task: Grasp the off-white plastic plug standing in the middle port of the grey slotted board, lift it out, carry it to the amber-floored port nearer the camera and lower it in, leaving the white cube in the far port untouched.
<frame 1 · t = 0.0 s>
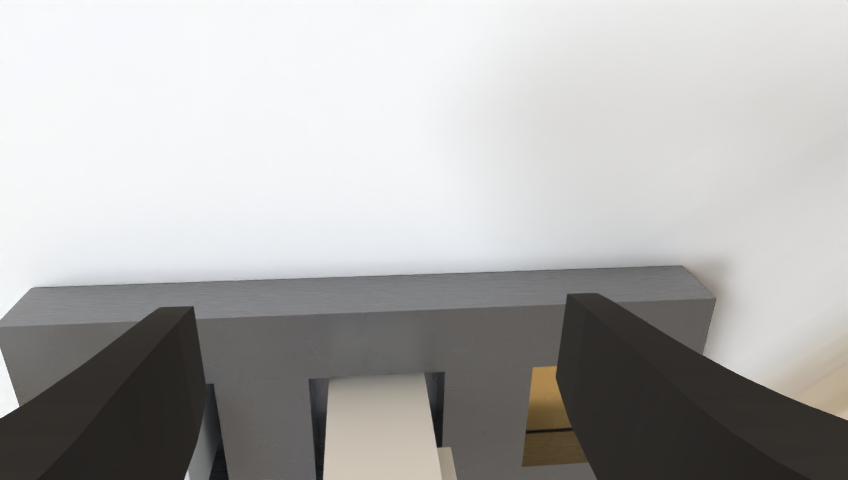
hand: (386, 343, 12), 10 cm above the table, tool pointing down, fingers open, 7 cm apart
grey slotted board: (376, 385, 25), on the table
white cube: (168, 404, 24), resting on grey slotted board
plug: (376, 393, 24), resting on grey slotted board
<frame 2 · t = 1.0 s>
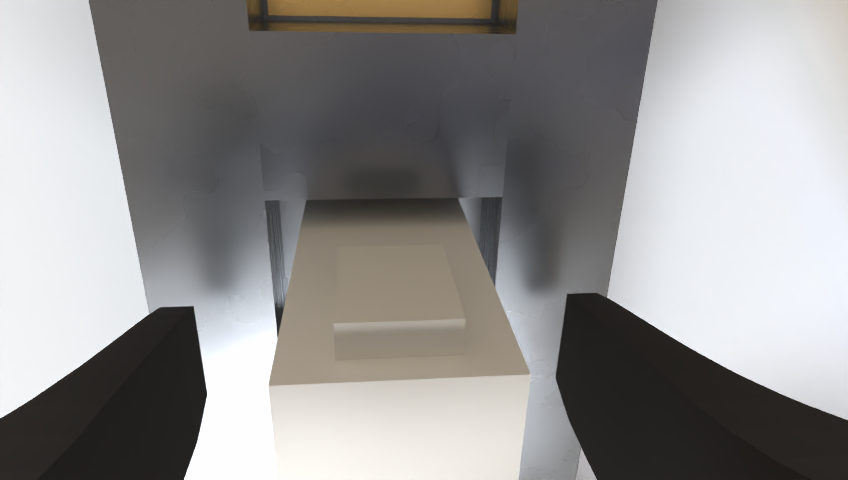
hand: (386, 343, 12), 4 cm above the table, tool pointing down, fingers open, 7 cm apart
grey slotted board: (382, 251, 16), on the table
plug: (382, 260, 15), resting on grey slotted board
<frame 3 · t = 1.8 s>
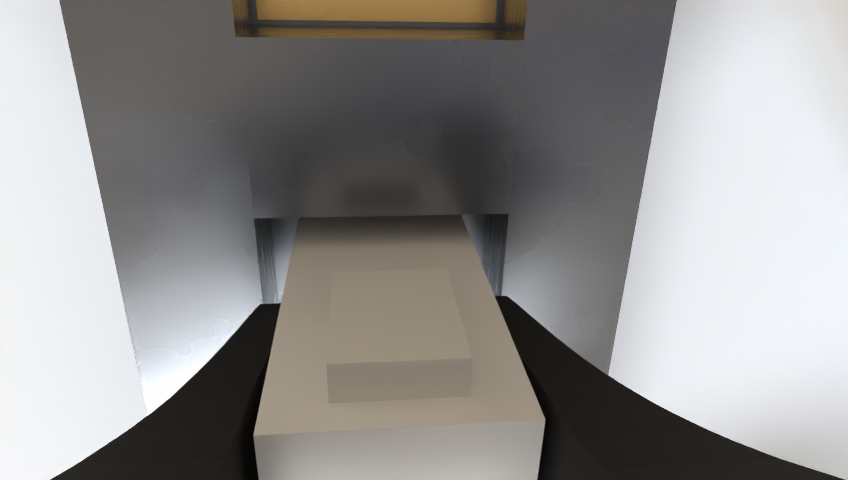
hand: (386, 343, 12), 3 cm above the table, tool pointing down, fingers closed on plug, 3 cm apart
grey slotted board: (379, 267, 15), on the table
plug: (380, 277, 14), resting on grey slotted board, touching gripper
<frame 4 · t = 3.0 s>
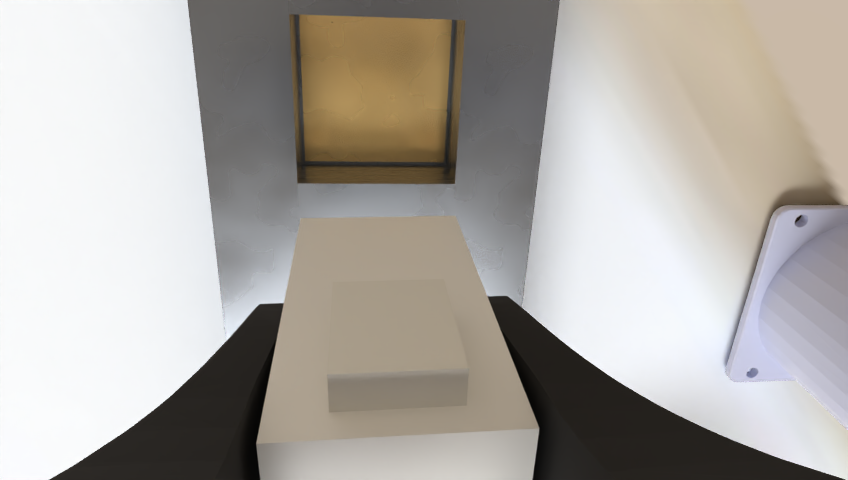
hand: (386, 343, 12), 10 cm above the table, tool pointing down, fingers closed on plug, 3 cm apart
grey slotted board: (374, 300, 23), on the table
plug: (379, 284, 15), point 7 cm above the table, touching gripper
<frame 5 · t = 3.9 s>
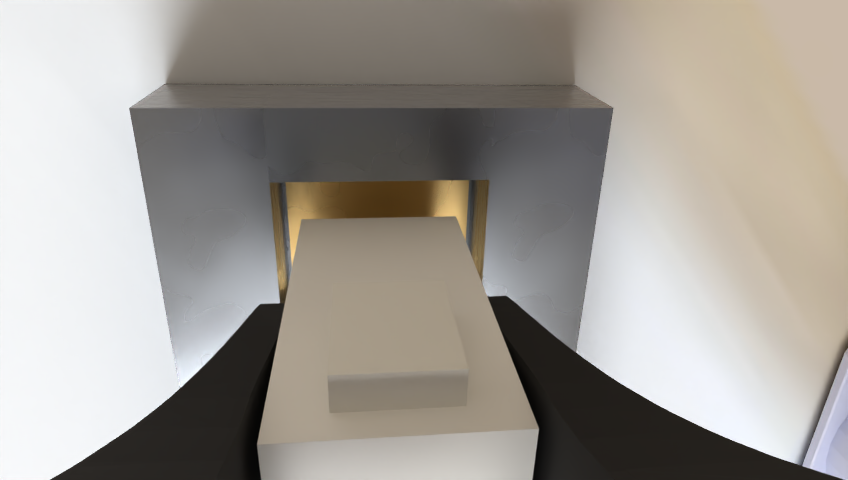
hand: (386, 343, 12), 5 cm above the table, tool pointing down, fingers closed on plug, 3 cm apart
grey slotted board: (380, 457, 20), on the table
plug: (380, 285, 15), point 2 cm above the table, touching gripper
when the fingers open (4 cm above the table, at t = 4.4 s): plug stays where it is, resting on grey slotted board.
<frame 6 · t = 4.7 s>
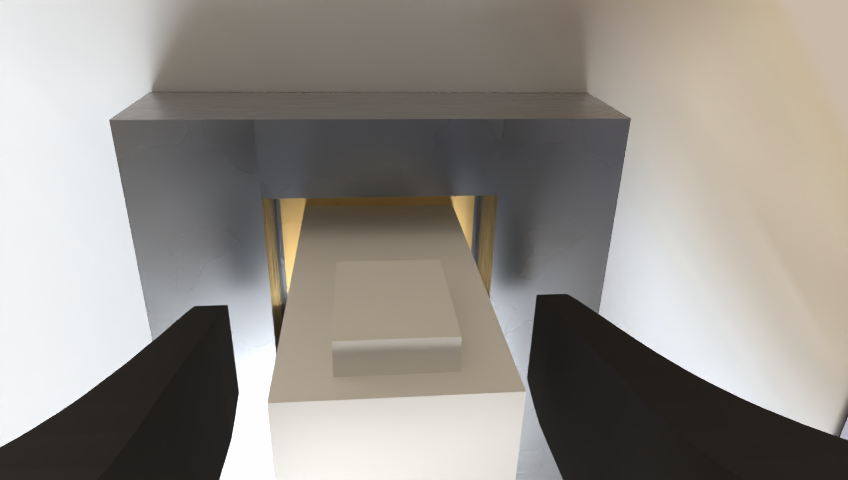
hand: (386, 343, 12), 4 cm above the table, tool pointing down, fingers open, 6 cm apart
plug: (379, 270, 15), point 1 cm above the table, touching grey slotted board
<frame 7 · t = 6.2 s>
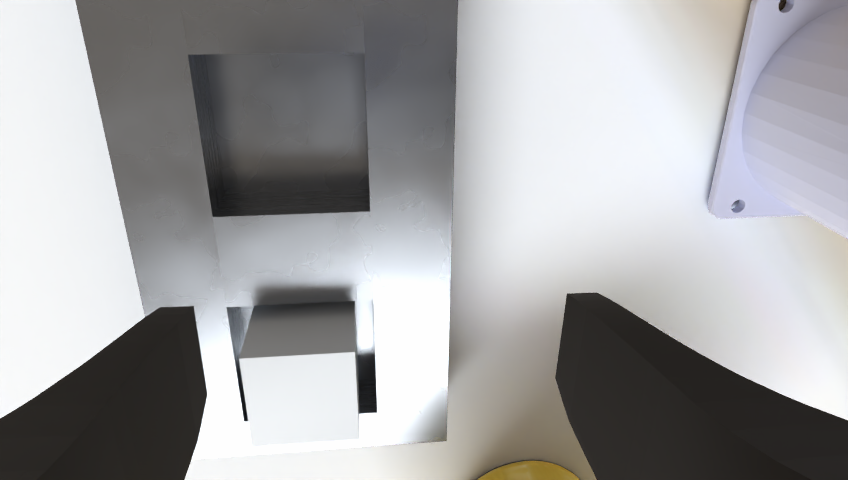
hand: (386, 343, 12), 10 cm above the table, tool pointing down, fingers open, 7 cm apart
grey slotted board: (292, 117, 20), on the table
white cube: (309, 331, 23), resting on grey slotted board
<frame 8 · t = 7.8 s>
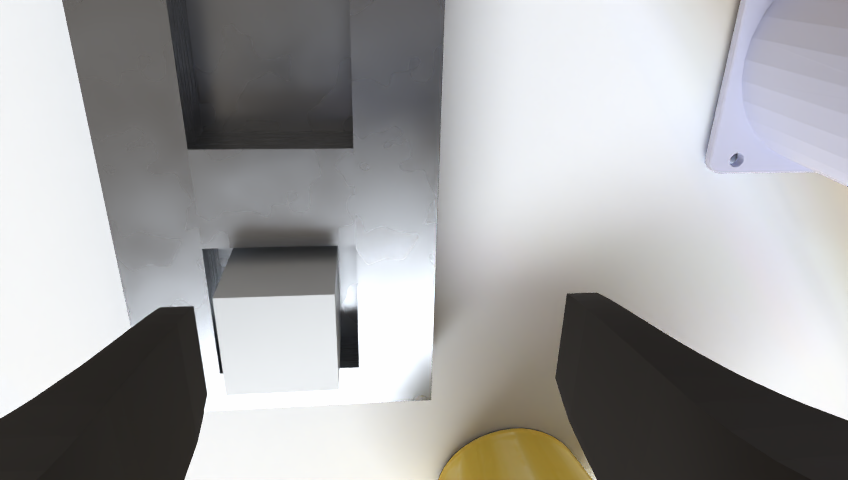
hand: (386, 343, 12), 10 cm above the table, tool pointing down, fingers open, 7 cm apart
grey slotted board: (275, 52, 19), on the table
white cube: (290, 282, 22), resting on grey slotted board
plant pot: (505, 477, 28), on the table
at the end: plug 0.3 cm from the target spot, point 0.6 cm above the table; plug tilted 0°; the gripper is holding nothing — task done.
